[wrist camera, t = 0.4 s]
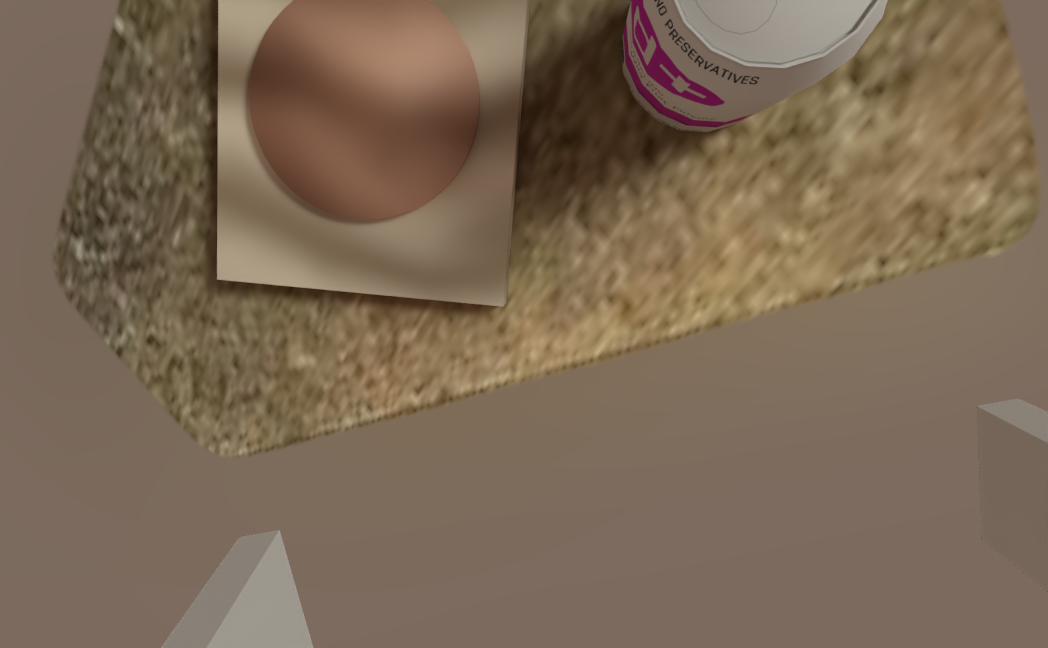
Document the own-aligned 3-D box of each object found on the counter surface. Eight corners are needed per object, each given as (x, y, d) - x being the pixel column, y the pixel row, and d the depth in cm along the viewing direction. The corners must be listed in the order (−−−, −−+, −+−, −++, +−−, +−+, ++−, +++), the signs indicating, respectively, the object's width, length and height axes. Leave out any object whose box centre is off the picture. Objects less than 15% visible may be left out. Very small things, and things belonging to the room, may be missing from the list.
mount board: (233, -102, 37) (212, -120, 35) (536, -85, 36) (533, -102, 34) (230, 276, 40) (211, 280, 38) (505, 302, 39) (501, 308, 37)
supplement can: (660, 160, 37) (710, 134, 23) (594, 14, 36) (602, -113, 22) (806, 89, 36) (959, 12, 21) (742, -65, 35) (856, -256, 20)
